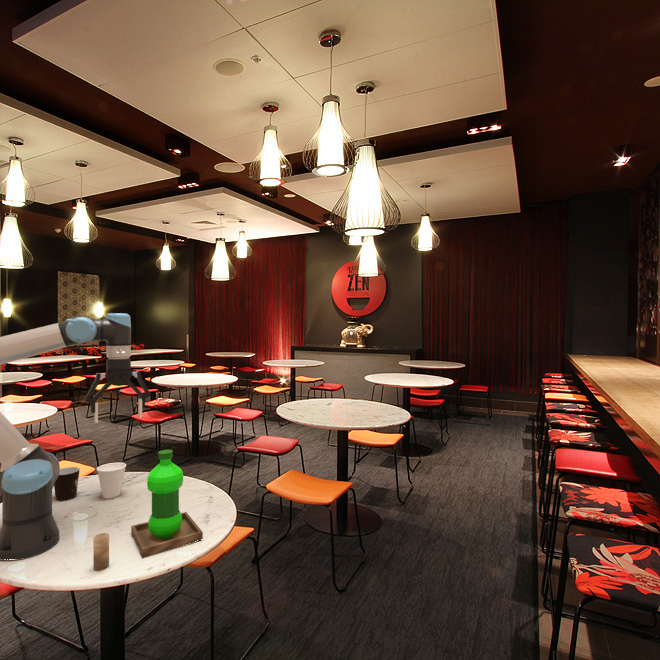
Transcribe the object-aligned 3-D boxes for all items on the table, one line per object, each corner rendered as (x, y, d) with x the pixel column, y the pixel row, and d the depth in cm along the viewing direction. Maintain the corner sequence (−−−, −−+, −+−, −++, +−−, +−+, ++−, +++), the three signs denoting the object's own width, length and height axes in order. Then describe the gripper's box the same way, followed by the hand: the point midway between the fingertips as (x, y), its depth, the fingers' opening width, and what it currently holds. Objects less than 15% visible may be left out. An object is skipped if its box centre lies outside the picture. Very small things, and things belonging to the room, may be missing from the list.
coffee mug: (66, 503, 148) (66, 475, 148) (46, 501, 150) (46, 474, 150) (91, 491, 159) (91, 465, 159) (72, 489, 161) (72, 463, 161)
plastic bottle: (153, 526, 129) (153, 447, 129) (187, 525, 129) (187, 446, 129) (141, 543, 119) (141, 457, 119) (178, 541, 119) (178, 456, 119)
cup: (118, 488, 162) (118, 460, 162) (131, 494, 156) (131, 465, 156) (91, 496, 154) (91, 467, 154) (104, 503, 148) (104, 473, 148)
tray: (142, 558, 112) (142, 549, 112) (131, 533, 126) (131, 525, 126) (202, 540, 122) (202, 531, 122) (186, 519, 135) (186, 511, 135)
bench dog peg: (94, 572, 105) (94, 541, 105) (92, 565, 108) (92, 535, 108) (109, 567, 107) (109, 537, 107) (108, 561, 110) (108, 531, 110)
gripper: (77, 360, 131) (77, 426, 131) (159, 357, 145) (159, 417, 145) (75, 358, 137) (75, 422, 137) (154, 356, 151) (154, 413, 151)
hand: (118, 419), depth 141 cm, fingers open, 13 cm apart
